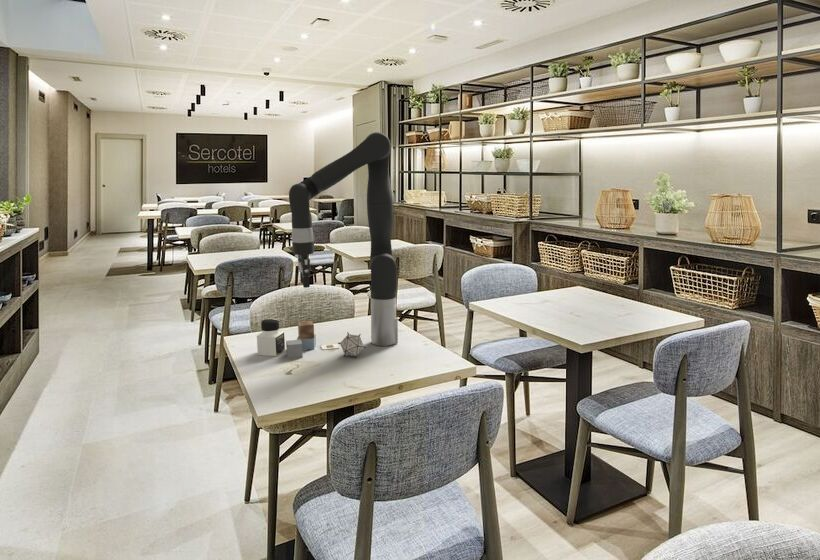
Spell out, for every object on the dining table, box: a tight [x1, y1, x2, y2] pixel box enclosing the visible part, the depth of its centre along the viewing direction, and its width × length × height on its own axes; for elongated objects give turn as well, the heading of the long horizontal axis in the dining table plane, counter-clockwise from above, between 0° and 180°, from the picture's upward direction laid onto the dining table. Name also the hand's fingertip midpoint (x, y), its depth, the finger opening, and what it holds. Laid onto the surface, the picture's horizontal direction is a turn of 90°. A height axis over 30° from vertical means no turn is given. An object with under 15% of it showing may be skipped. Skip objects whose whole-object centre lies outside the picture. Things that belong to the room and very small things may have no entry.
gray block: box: [285, 339, 304, 360], centre depth 194 cm, size 5×5×5 cm
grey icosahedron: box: [337, 332, 367, 359], centre depth 193 cm, size 9×8×10 cm
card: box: [320, 343, 340, 351], centre depth 204 cm, size 6×4×1 cm
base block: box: [296, 333, 317, 351], centre depth 204 cm, size 6×6×4 cm
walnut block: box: [297, 320, 315, 339], centre depth 203 cm, size 5×5×5 cm
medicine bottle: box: [256, 317, 286, 357], centre depth 197 cm, size 7×7×12 cm
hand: (305, 285), depth 204 cm, fingers open, 8 cm apart
